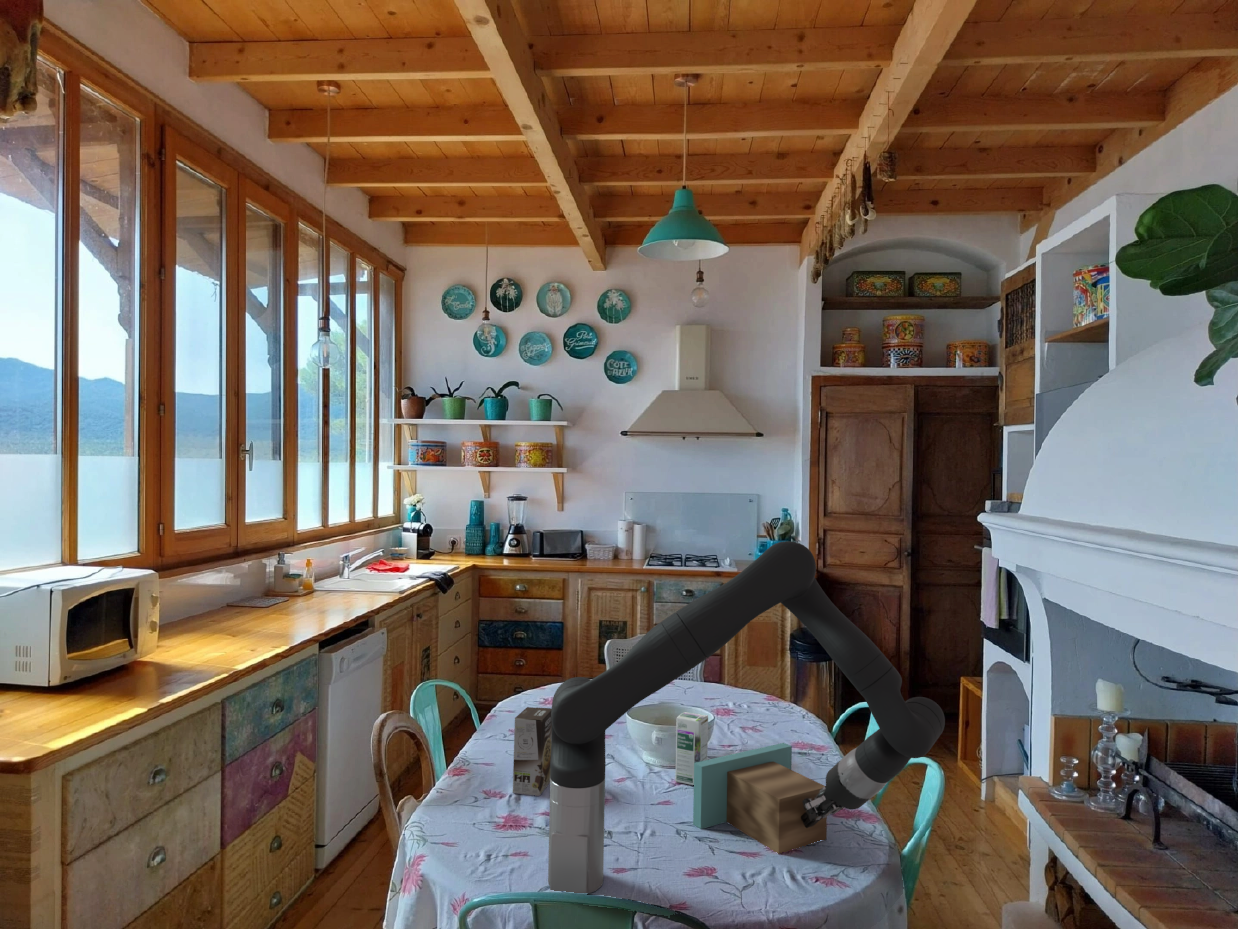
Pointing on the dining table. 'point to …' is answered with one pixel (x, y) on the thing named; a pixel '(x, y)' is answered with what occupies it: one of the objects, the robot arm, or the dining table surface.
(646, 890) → the dining table surface
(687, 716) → the syrup box
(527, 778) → the coffee box
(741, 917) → the dining table surface
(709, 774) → the teal board
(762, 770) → the walnut block
